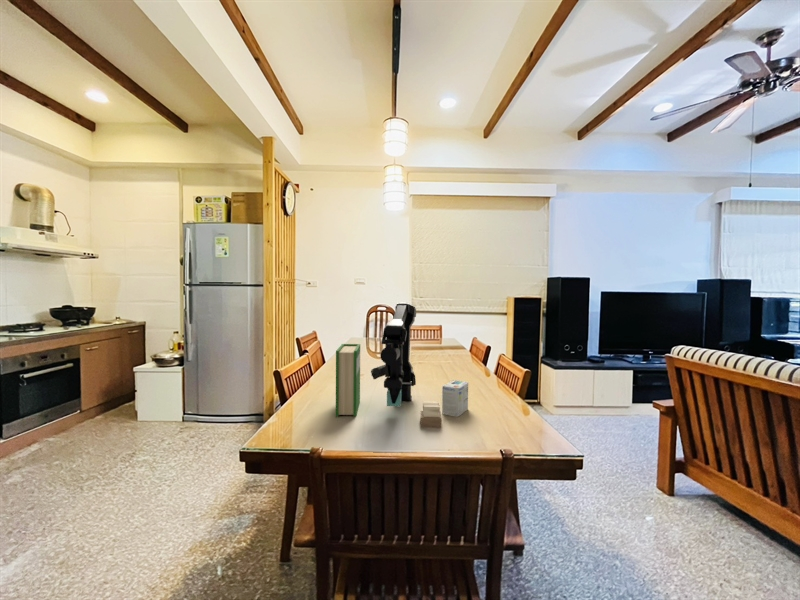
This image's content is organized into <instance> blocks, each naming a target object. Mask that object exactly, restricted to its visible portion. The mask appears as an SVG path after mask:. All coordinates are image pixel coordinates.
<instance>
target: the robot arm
mask: <svg viewBox="0 0 800 600" xmlns="http://www.w3.org/2000/svg"><path fill="white" fill-rule="evenodd" d="M394 308H395V310H394V314H393V317H392V320H390V321H388V322H386V324H385V327H384V328H383V333H382V339H381V345H385V347H384V348H383V349H382V350H381V352H380V359H381V361H382V362H383V363H384V364H383V365H380V366H376V367H374V368H372V369H371V370H370V373H371V377H372V379H373V380H377V379H378V378H379V379H380V378H381V377H385V379H384V380H383V388H384V389H385V388H386V389H387V390H388V389H389V391H390V395H391V400H392V403H393V404H395V403H396V400H397V398H398V395H399V393H400V390H401V402H402V401H403V402H405V401H407V402H412V401H413V395H412V387H414V386H416V384H417V383H416V381H417V380H416V374H415V373H414V372H415V371H413V370H414V369H413V365H412V364H411V362H410V351H411V350H410V349H411V327H413V324H414V323H415V318H416V317H417V309H416V306H413V305H412V304H410V303H409V302H397V303H396V305H395V307H394Z"/></svg>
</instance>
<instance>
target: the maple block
mask: <svg viewBox="0 0 800 600" xmlns="http://www.w3.org/2000/svg"><path fill="white" fill-rule="evenodd" d="M440 410H441V407H440V402H439V401H422V411H423V417H440V412H441V411H440Z"/></svg>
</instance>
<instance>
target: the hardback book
mask: <svg viewBox="0 0 800 600" xmlns="http://www.w3.org/2000/svg"><path fill="white" fill-rule="evenodd" d="M360 403H361V344H360V343H342V344H341V345H340V346H339V347H338V348H337V349H336V350H335V418H339V417H340V416H341V415H343V416H345V415H346V416H348V415H349V416H353V418H357V417H358V416H357V415H358V411H359V407H360Z"/></svg>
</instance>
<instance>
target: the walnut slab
mask: <svg viewBox="0 0 800 600" xmlns="http://www.w3.org/2000/svg"><path fill="white" fill-rule="evenodd" d="M420 428H441V429H442V411H440V417H423V410H420Z"/></svg>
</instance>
